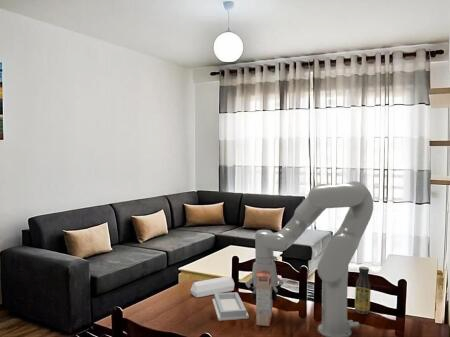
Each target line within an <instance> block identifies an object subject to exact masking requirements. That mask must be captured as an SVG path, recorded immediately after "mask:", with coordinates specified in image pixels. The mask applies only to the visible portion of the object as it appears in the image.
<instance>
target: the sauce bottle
mask: <svg viewBox="0 0 450 337" xmlns="http://www.w3.org/2000/svg"><path fill="white" fill-rule="evenodd" d="M369 272H370V268H369V267H367V266H359V267H358V275H359V276H358V278H357V279H356V280H355V282H356V283H355V292H354V293H355V296H354V311H355V312H356V313H357V314H360V315H368V314H369V313H370V309H371V293H372V292H371V291H372V290H371V281H370V279H369Z"/></svg>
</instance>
